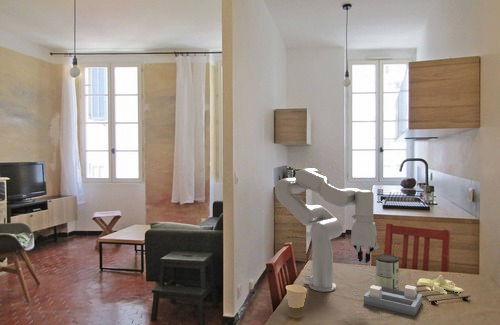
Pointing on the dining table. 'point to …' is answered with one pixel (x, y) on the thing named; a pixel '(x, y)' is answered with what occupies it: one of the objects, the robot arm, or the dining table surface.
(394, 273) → the coffee can
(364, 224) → the robot arm
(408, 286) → the tab
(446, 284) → the cloth
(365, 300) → the switch board
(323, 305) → the dining table surface
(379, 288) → the tab
